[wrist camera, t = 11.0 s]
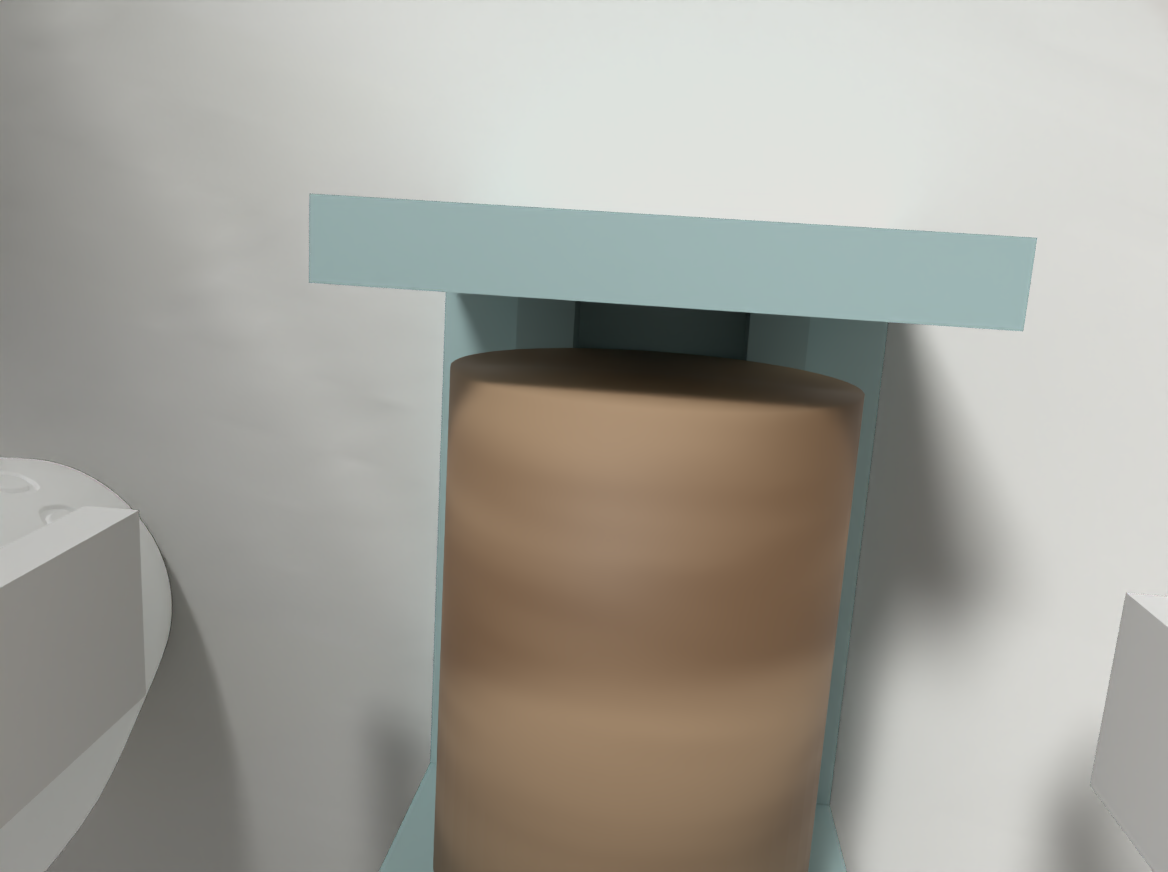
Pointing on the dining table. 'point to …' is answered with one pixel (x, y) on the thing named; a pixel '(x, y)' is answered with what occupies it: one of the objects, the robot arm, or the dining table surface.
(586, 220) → the cradle
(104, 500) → the figurine
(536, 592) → the roll
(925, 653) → the dining table surface
